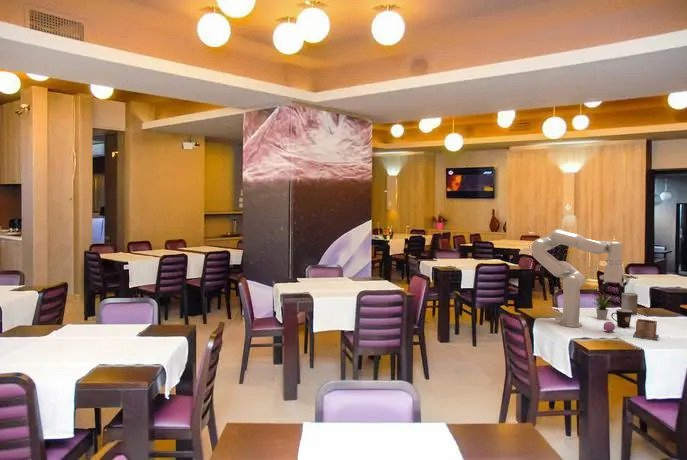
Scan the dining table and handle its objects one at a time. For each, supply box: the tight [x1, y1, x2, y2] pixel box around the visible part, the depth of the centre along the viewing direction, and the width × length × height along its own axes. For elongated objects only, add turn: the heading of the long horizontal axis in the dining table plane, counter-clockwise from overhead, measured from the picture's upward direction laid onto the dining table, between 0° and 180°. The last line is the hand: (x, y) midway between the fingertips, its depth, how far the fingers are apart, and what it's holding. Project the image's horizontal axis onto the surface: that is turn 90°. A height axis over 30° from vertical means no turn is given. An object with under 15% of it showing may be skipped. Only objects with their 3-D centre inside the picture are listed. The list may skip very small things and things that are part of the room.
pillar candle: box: [620, 292, 639, 316], centre depth 373 cm, size 10×10×15 cm
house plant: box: [591, 293, 612, 320], centre depth 357 cm, size 14×14×16 cm
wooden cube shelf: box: [632, 318, 660, 341], centre depth 312 cm, size 12×12×9 cm
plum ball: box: [603, 321, 616, 333], centre depth 322 cm, size 6×6×6 cm
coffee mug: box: [610, 308, 633, 329], centre depth 336 cm, size 12×9×10 cm
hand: (613, 291), depth 321 cm, fingers open, 9 cm apart
